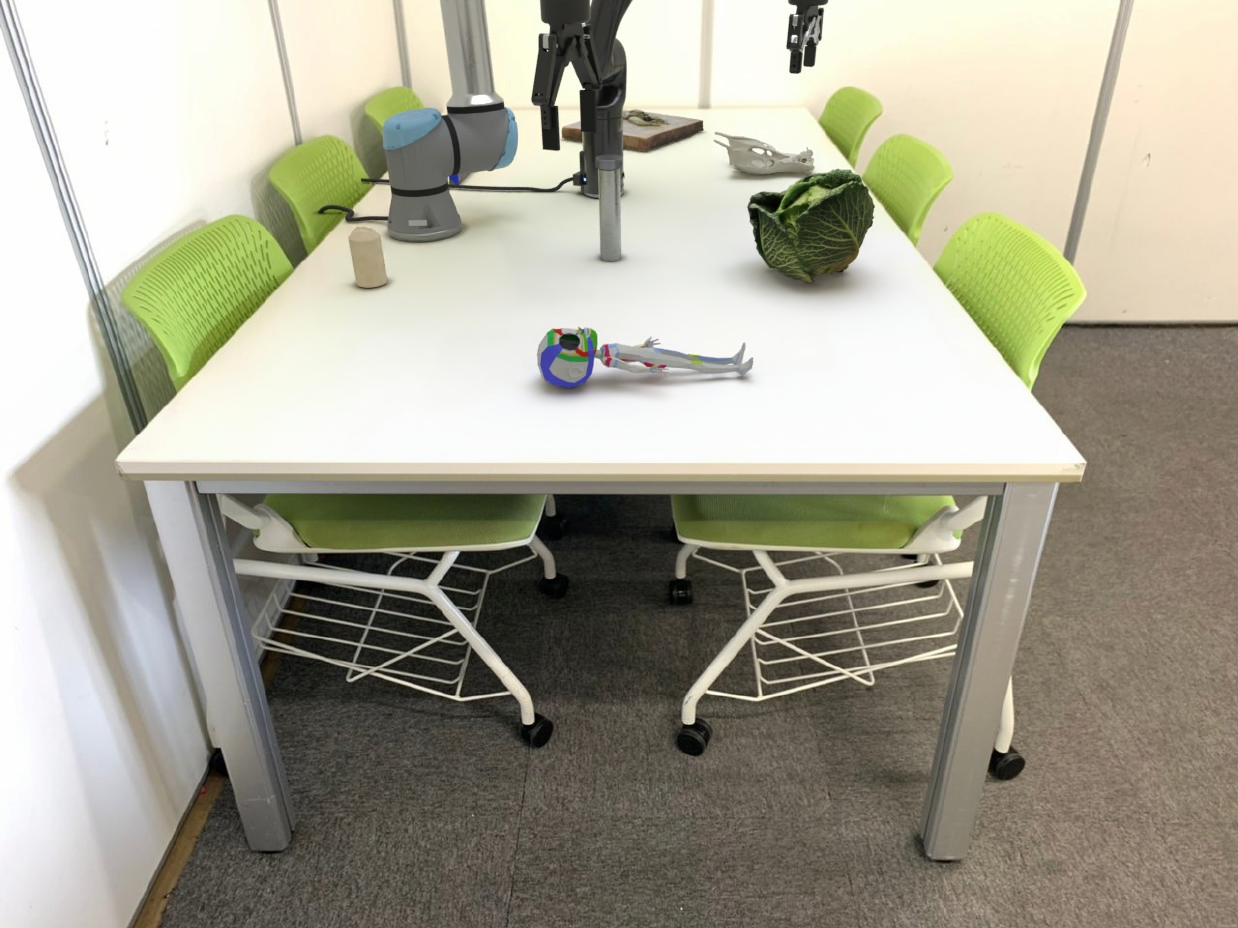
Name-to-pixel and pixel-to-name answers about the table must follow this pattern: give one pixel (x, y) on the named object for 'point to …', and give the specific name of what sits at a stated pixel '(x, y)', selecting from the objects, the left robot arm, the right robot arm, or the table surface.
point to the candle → (367, 257)
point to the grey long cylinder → (609, 214)
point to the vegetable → (812, 224)
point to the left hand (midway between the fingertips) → (571, 140)
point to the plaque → (646, 129)
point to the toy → (618, 358)
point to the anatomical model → (764, 157)
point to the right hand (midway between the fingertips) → (802, 70)
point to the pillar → (456, 178)
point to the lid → (608, 162)
